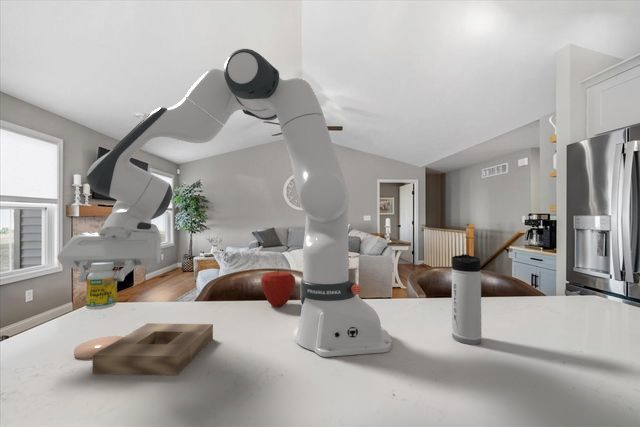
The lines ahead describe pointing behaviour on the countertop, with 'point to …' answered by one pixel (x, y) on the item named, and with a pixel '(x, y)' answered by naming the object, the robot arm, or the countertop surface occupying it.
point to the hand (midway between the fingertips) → (100, 280)
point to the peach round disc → (94, 346)
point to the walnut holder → (153, 350)
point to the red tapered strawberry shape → (278, 287)
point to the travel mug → (466, 299)
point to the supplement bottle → (101, 286)
